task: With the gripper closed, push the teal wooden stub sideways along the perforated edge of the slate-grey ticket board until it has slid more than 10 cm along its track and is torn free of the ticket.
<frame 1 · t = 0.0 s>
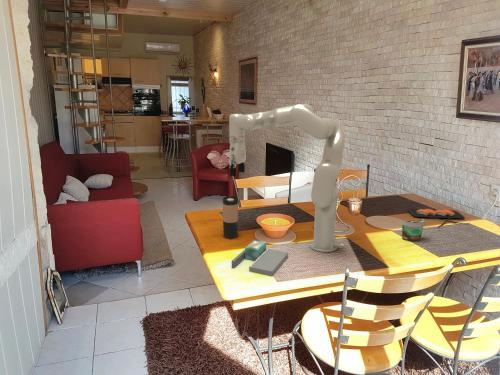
hand: (237, 173, 189), 31 cm above the table, tool pointing down, fingers open, 9 cm apart
sushi plate: (439, 220, 219), on the table
food container: (414, 240, 188), on the table
stub: (255, 250, 169), point 3 cm above the table, slide at 0.0 cm
travel mug: (230, 236, 192), on the table
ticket: (269, 263, 162), on the table
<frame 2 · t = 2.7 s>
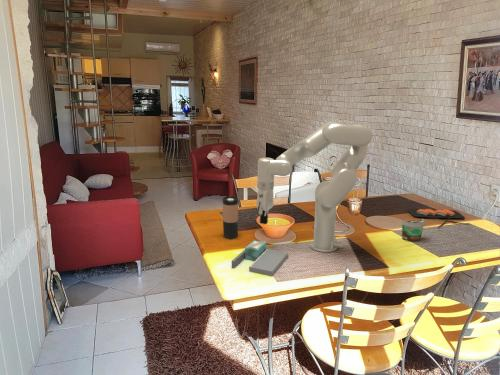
hand: (263, 223, 177), 12 cm above the table, tool pointing down, fingers closed
nothing on the table moved.
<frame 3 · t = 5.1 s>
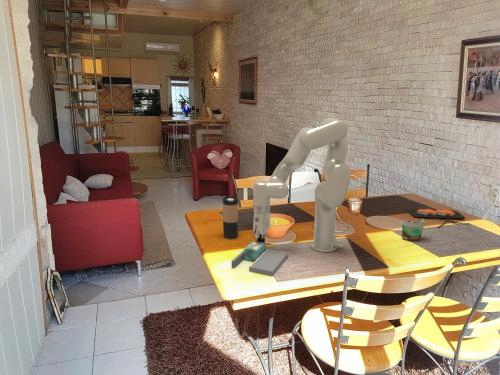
hand: (261, 246, 175), 2 cm above the table, tool pointing down, fingers closed
stub: (255, 250, 168), point 3 cm above the table, slide at 1.0 cm, touching gripper
everything else where it was.
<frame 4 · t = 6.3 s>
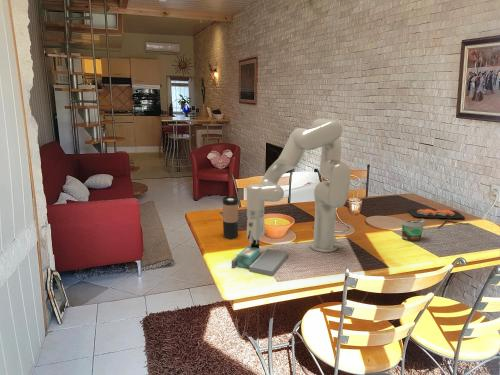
hand: (255, 251, 169), 2 cm above the table, tool pointing down, fingers closed
stub: (248, 257, 162), point 3 cm above the table, slide at 8.0 cm, touching gripper
everything else where it was.
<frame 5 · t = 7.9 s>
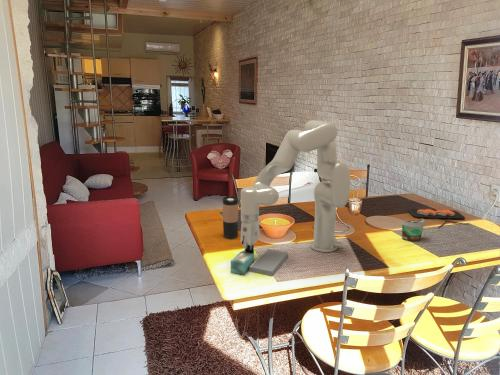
hand: (249, 257, 163), 2 cm above the table, tool pointing down, fingers closed
stub: (242, 262, 157), point 3 cm above the table, slide at 14.1 cm, touching gripper
everything else where it was.
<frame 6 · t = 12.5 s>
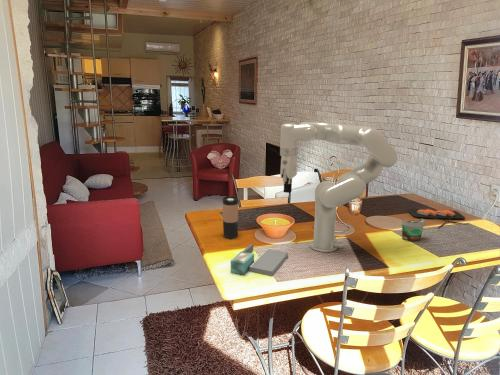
hand: (287, 192, 172), 27 cm above the table, tool pointing down, fingers closed
stub: (242, 262, 157), point 3 cm above the table, slide at 14.0 cm
everything else where it was.
at the end: stub slide at 14.0 cm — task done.
